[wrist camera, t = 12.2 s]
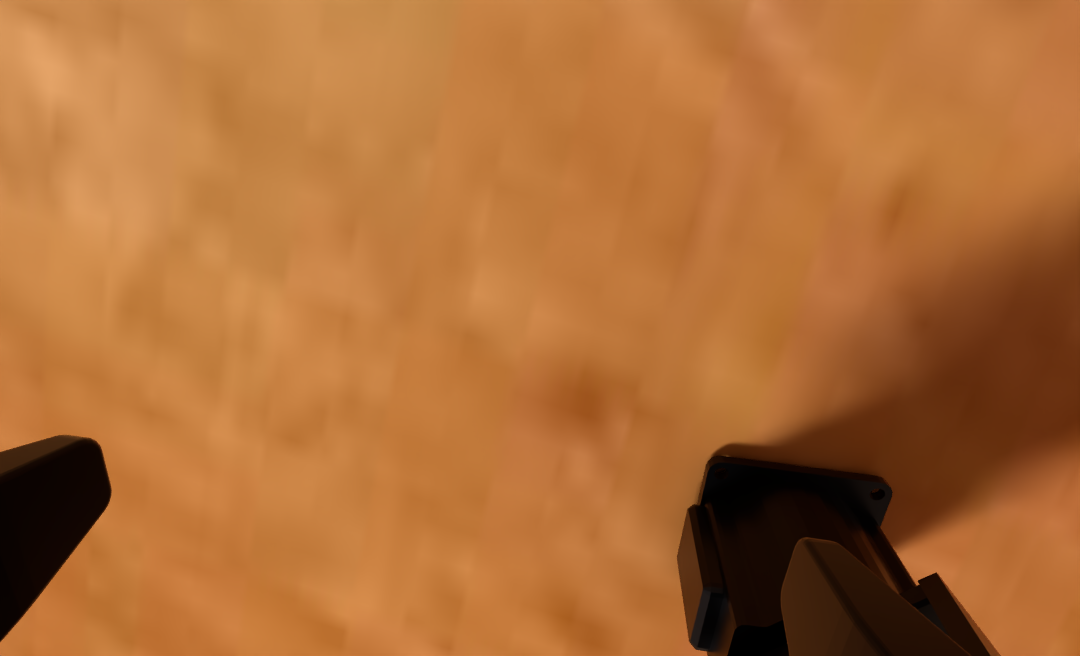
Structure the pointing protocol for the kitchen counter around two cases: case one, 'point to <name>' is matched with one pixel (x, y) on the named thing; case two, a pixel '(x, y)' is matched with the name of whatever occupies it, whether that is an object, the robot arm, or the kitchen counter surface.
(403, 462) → the kitchen counter surface
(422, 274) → the kitchen counter surface
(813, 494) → the robot arm
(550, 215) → the kitchen counter surface
